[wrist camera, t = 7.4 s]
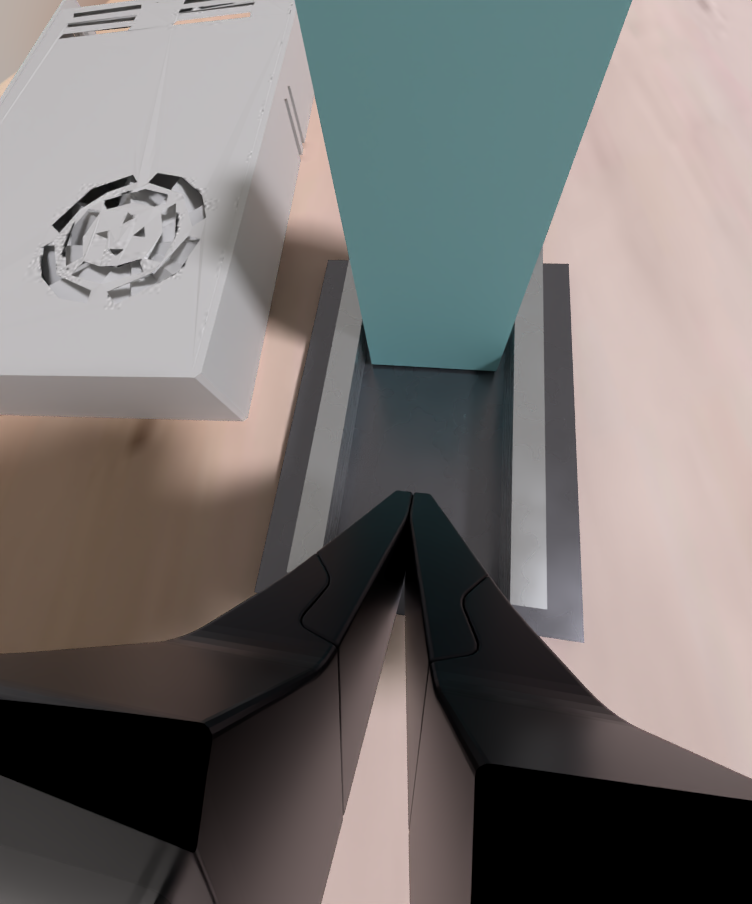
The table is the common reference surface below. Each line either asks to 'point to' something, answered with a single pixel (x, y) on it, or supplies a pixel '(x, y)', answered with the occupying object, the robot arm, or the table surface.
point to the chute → (443, 449)
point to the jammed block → (451, 155)
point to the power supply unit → (147, 206)
